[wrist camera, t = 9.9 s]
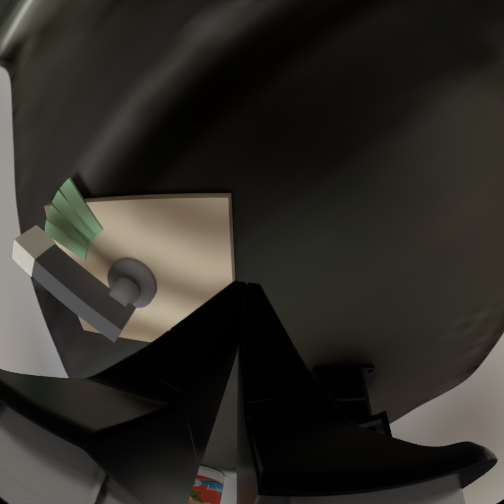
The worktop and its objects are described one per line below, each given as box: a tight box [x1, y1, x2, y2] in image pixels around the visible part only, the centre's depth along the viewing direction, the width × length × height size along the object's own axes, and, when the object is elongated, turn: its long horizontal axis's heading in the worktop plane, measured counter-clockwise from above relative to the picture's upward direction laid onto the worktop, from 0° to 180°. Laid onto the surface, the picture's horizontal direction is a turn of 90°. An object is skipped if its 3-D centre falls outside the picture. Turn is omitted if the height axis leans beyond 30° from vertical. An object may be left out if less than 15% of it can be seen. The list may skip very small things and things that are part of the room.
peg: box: [12, 225, 140, 343], centre depth 19 cm, size 11×2×4 cm, turn 53°
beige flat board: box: [44, 178, 235, 342], centre depth 23 cm, size 16×18×2 cm
